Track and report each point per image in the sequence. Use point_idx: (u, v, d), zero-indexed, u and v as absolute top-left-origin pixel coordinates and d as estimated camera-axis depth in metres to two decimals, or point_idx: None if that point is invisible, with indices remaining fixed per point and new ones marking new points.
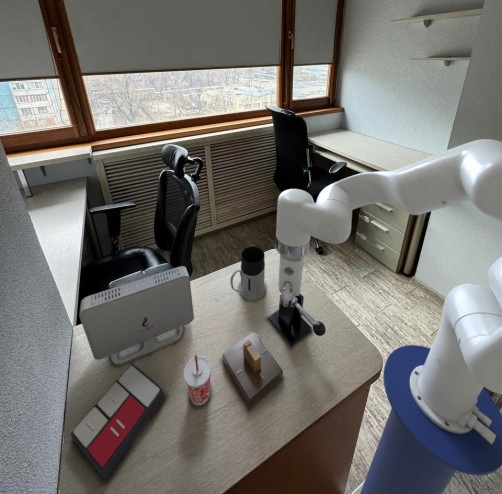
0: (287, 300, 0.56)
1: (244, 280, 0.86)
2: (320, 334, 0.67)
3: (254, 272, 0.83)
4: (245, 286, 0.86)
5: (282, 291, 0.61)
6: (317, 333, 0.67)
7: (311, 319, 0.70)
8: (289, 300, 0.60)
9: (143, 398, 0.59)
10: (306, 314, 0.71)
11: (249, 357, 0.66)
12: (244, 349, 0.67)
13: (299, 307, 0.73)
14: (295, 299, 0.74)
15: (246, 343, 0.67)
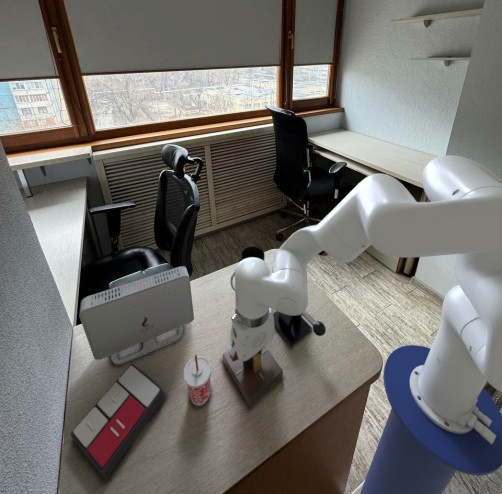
0: (231, 358, 0.61)
1: None
2: (320, 334, 0.67)
3: None
4: None
5: None
6: (317, 333, 0.67)
7: (311, 319, 0.70)
8: None
9: (143, 398, 0.59)
10: (306, 314, 0.71)
11: None
12: None
13: None
14: None
15: None
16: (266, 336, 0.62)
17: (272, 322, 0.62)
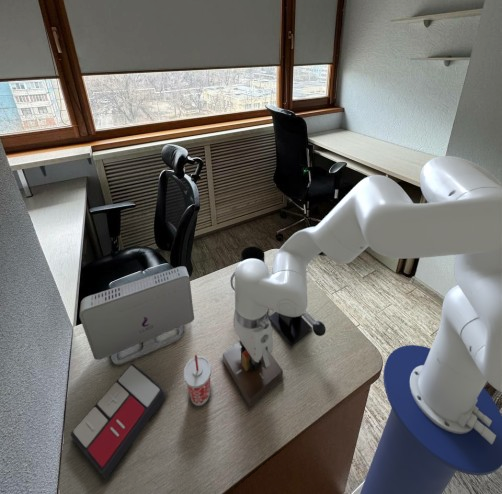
0: (269, 364, 0.60)
1: None
2: (320, 334, 0.67)
3: None
4: None
5: None
6: (317, 333, 0.67)
7: (311, 319, 0.70)
8: None
9: (143, 398, 0.59)
10: (306, 314, 0.71)
11: None
12: (247, 364, 0.64)
13: None
14: None
15: (246, 355, 0.64)
16: None
17: None
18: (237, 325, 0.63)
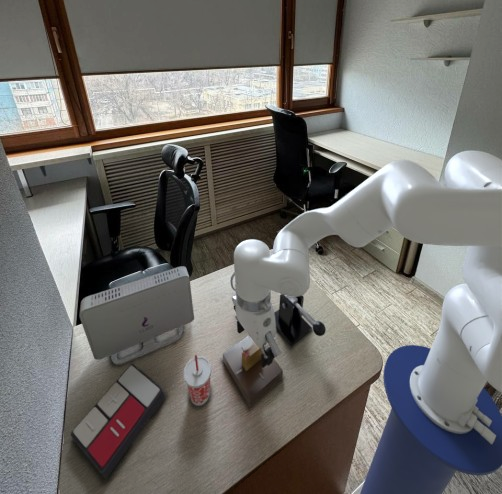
0: (278, 349, 0.55)
1: None
2: (320, 334, 0.67)
3: None
4: None
5: None
6: (317, 333, 0.67)
7: (311, 319, 0.70)
8: (269, 347, 0.59)
9: (143, 398, 0.59)
10: (306, 314, 0.71)
11: (254, 358, 0.66)
12: (247, 364, 0.64)
13: (299, 307, 0.73)
14: (295, 299, 0.74)
15: (246, 355, 0.64)
16: None
17: None
18: (239, 310, 0.61)
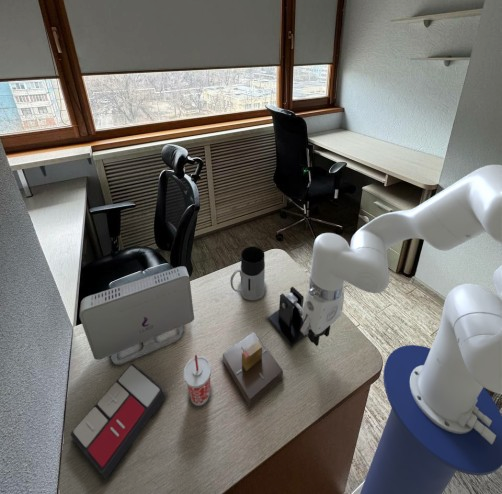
0: (303, 332, 0.62)
1: (244, 280, 0.86)
2: (320, 334, 0.67)
3: (254, 272, 0.83)
4: (245, 286, 0.86)
5: None
6: None
7: None
8: None
9: (143, 398, 0.59)
10: None
11: (254, 358, 0.66)
12: (247, 364, 0.64)
13: (299, 307, 0.73)
14: (295, 299, 0.74)
15: (246, 355, 0.64)
16: (337, 310, 0.64)
17: (343, 297, 0.64)
18: None
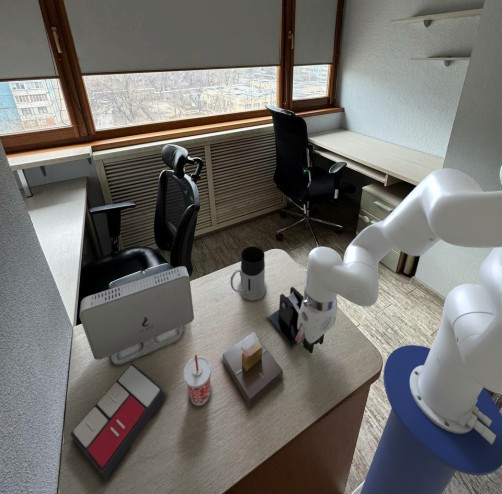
0: (298, 340, 0.65)
1: (244, 280, 0.86)
2: (314, 343, 0.69)
3: (254, 272, 0.83)
4: (245, 286, 0.86)
5: None
6: None
7: None
8: None
9: (143, 398, 0.59)
10: None
11: (254, 358, 0.66)
12: (247, 364, 0.64)
13: (298, 310, 0.74)
14: (296, 302, 0.74)
15: (246, 355, 0.64)
16: (330, 320, 0.67)
17: (336, 307, 0.67)
18: None
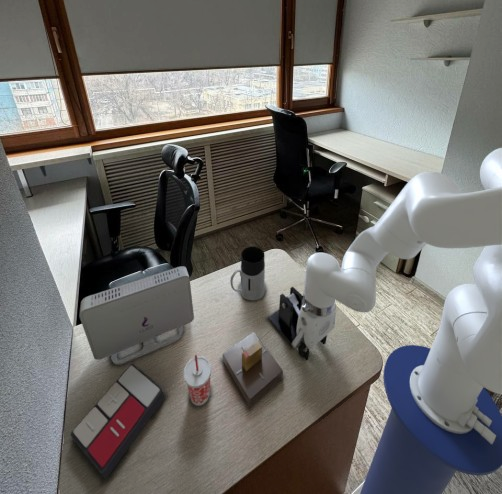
0: (295, 345, 0.65)
1: (244, 280, 0.86)
2: None
3: (254, 272, 0.83)
4: (245, 286, 0.86)
5: None
6: None
7: None
8: (305, 345, 0.68)
9: (143, 398, 0.59)
10: None
11: (254, 358, 0.66)
12: (247, 364, 0.64)
13: (298, 311, 0.74)
14: (296, 302, 0.74)
15: (246, 355, 0.64)
16: (329, 325, 0.68)
17: (334, 312, 0.68)
18: None
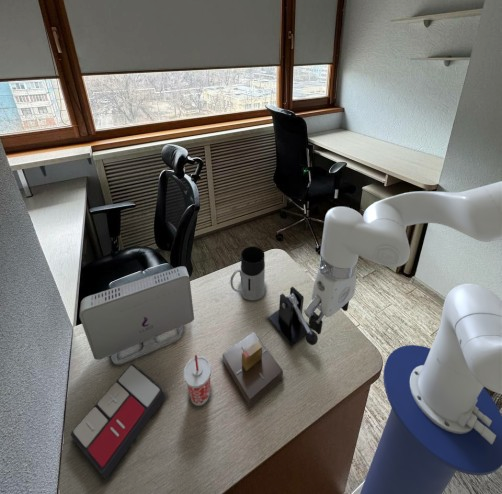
0: (308, 311, 0.56)
1: (244, 280, 0.86)
2: (311, 344, 0.71)
3: (254, 272, 0.83)
4: (245, 286, 0.86)
5: None
6: (309, 343, 0.71)
7: (306, 327, 0.72)
8: (318, 316, 0.59)
9: (143, 398, 0.59)
10: (303, 321, 0.73)
11: (254, 358, 0.66)
12: (247, 364, 0.64)
13: (298, 311, 0.74)
14: (296, 302, 0.74)
15: (246, 355, 0.64)
16: (349, 292, 0.59)
17: (355, 277, 0.59)
18: None
